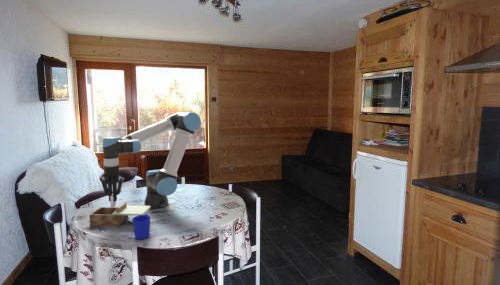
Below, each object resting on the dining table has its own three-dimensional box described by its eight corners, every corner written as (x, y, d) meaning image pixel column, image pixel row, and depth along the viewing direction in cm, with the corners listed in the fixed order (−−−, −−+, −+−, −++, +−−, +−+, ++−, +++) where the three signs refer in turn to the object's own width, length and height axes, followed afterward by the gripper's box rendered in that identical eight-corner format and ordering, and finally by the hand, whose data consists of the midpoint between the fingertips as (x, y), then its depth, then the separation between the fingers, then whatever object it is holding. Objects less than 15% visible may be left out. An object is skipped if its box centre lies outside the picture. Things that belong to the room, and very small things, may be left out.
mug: (154, 230, 158) (154, 212, 157) (147, 240, 146) (147, 221, 145) (139, 230, 158) (138, 212, 156) (130, 240, 146) (130, 221, 144)
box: (128, 217, 175) (128, 207, 174) (119, 225, 163) (118, 215, 162) (101, 216, 175) (100, 207, 174) (90, 225, 163) (89, 214, 162)
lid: (150, 207, 174) (150, 201, 174) (142, 215, 161) (142, 209, 161) (122, 206, 174) (122, 201, 174) (111, 215, 162) (111, 209, 161)
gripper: (126, 164, 168) (127, 204, 171) (102, 163, 168) (104, 204, 171) (120, 167, 161) (122, 209, 164) (96, 166, 161) (98, 209, 164)
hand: (113, 206), depth 168 cm, fingers closed
